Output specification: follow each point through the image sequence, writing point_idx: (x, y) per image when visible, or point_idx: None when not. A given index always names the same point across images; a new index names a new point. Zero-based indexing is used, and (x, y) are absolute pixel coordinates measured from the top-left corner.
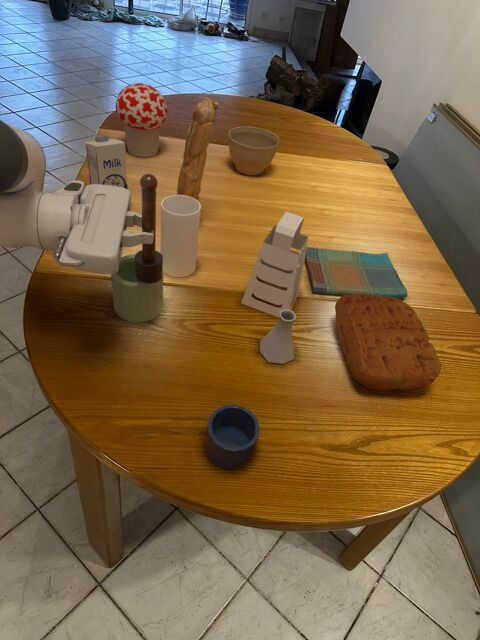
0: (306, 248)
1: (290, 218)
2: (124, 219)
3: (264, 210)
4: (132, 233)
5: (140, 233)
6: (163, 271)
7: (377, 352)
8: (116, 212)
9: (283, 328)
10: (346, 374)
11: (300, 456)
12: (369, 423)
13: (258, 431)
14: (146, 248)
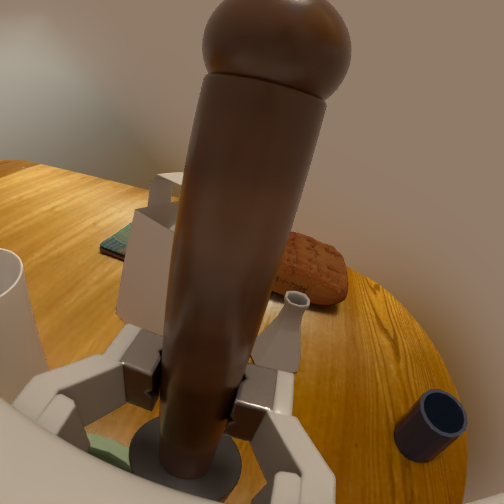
0: (104, 243)
1: (177, 178)
2: (137, 476)
3: (7, 242)
4: (298, 461)
5: (286, 420)
6: (114, 440)
7: (324, 268)
8: (35, 494)
9: (301, 318)
10: (312, 311)
11: (411, 380)
12: (366, 320)
13: (441, 390)
14: (216, 446)
